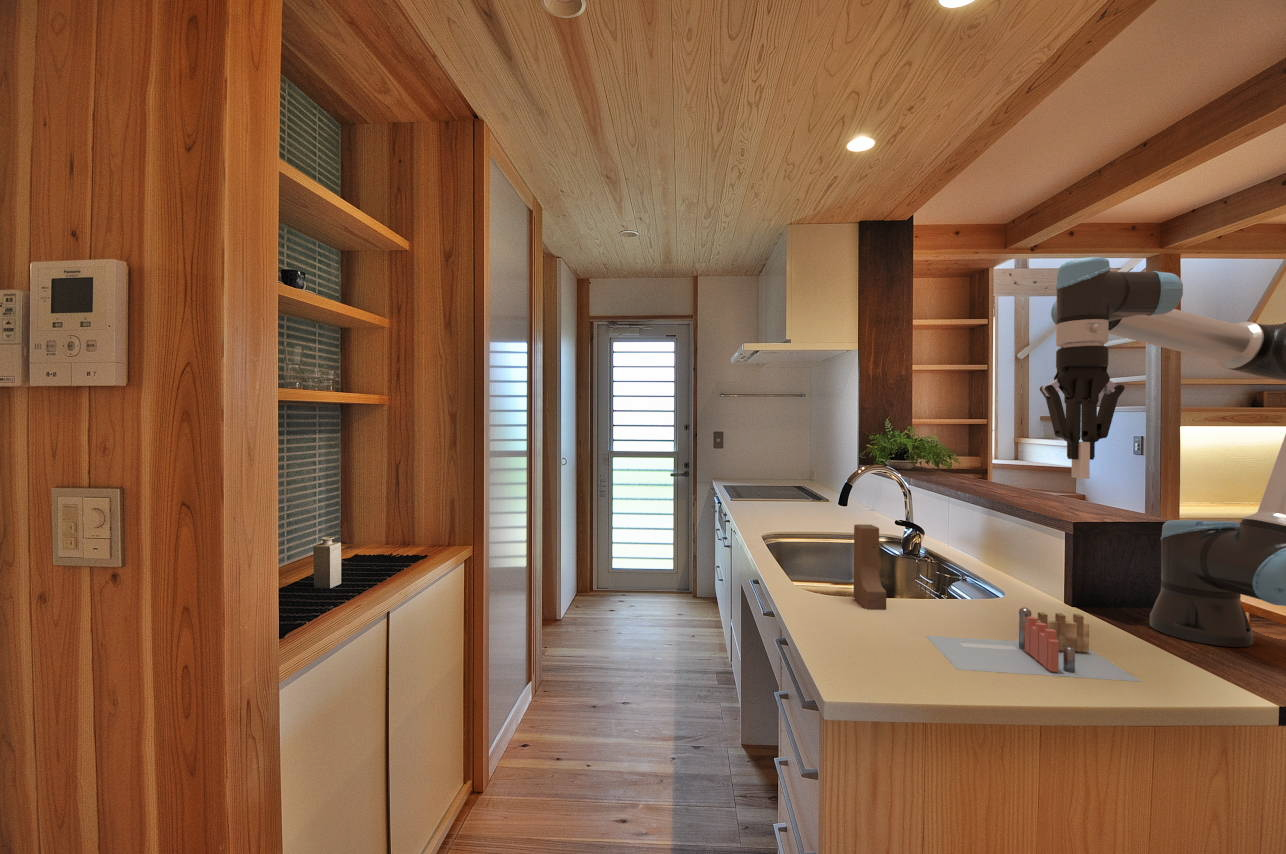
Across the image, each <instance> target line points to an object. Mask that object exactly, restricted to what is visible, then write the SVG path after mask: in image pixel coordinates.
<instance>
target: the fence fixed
mask: <svg viewBox="0 0 1286 854" xmlns="http://www.w3.org/2000/svg"><path fill="white" fill-rule="evenodd" d="M1054 613H1055V614H1054V615H1055V617H1054V620H1050V619H1049V620H1048V618H1049V615H1048V614H1047V613H1045V612H1044V611H1043V612H1041V611H1039V612H1037V618H1038V623H1045V624H1046V625H1047V629H1054V630H1055V631H1057V636H1056V640H1057V641H1058V642H1059V651H1064V646H1065V645H1067V646H1072V647H1075V651H1077V652H1089V649H1090V623H1087V622H1085V621H1084V619H1085V617H1084V616H1083V615H1082V614H1080V613H1078V614H1077V613H1073V615H1072V621H1066V619H1067V618H1066V617H1067V616H1066V615H1065V614H1063V613H1061V612H1054Z"/></svg>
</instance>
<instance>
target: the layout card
mask: <svg viewBox="0 0 1286 854" xmlns="http://www.w3.org/2000/svg"><path fill="white" fill-rule="evenodd" d="M925 637H926V638H927V639H928V641H930V642H931V643H932V644H933V645H934V646H935V647H936V648H937V650H939V652H940V653H941V654H942V655H943V656H944V657H945V658H946V659H947V660H948V661H949V662H950V663H951V664H952V666H954V667H955V669H956V670H958V671H959V670H960V671H972V672H973V671H974V672H987V673H988V672H989V673H1004V674H1019V675H1032V676H1033V675H1035V676H1049V677H1061V678H1062V677H1064V678H1079V679H1093V680H1111V681H1126V682H1136V683H1137V682H1138V683H1139V682H1140V683H1141V682H1142V683H1143V681H1142V680H1141V679H1139V678H1137V677H1136V676H1134V675H1133V674H1131V673H1129V672H1128V671H1126V670H1124V669H1123V668H1121V667H1120V666H1118V665H1116V664H1115V663H1113V662H1112V661H1111V660H1108V659H1107V658H1106V657H1103V656H1102V655H1100V654H1099V653H1097V652H1095V651H1093V650H1092V649H1090V648H1089V652H1077V651H1075V673H1069V672H1066V671H1064V670H1063V654H1064V651H1059V672H1053V671H1050V670H1048V669H1047V668H1045V667H1044V665H1042V664H1041V663H1040V662H1039V661H1037V660H1036V659H1035V658H1034V657H1033V656H1032V655H1030V654H1029V653H1027V651H1025V650H1022V649H1020V648H1019V640H1003V639H990V638H989V639H987V638H973V637H972V638H969V637H954V636H953V637H951V636H938V635H926V636H925Z"/></svg>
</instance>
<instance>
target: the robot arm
mask: <svg viewBox="0 0 1286 854" xmlns="http://www.w3.org/2000/svg"><path fill="white" fill-rule="evenodd" d="M1111 268H1112V267H1110V261H1109V259H1108V258H1106V257H1102V256H1089V257H1081V258H1076V259H1073V260H1069V261H1066V262H1064V263H1063V264H1061V265H1060V266H1059V268H1058V270H1057V277H1056V287H1055V290H1056V300H1055V301H1054V303H1053V304H1052V307H1051V310H1050V311H1051V312H1050V316H1051V319H1052V322H1053V323H1054V324H1055V325H1056V340H1055V346H1056V347H1058V349H1057V350H1056V351H1055V352H1056V353H1055V354H1056V355H1055V369H1056V373H1055V375H1054V377H1053V380H1052V381H1051V382H1049V383H1048V384H1046V385H1041V386H1040V388H1039V391H1040V392H1041V394H1042V395H1043V397H1044V398H1045V401H1046V405H1047V408H1048V409H1047V410H1048V413H1049V417H1050V421H1051V425H1052V429H1053V434H1054V436H1055V437H1056V438H1060V439H1062V440H1063V441H1065V442H1066V457H1067V460H1071V478H1074V479H1079V480H1083V479H1086V480H1087V479H1088V480H1090V475H1091V474H1090V471H1091V469H1090V467H1091V466H1090V465H1091V464H1090V463H1091V461H1090V460H1093V461H1094V459H1095V455H1096V454H1095V453H1096V452H1095V451H1096V450H1095V449H1096V448H1095V447H1096V446H1095V445H1096V443H1098V441H1100V440H1101V439H1106V438H1107V437H1108V436H1109V434H1110V433H1109V432H1110V428H1111V424H1112V422H1113V418H1114V414H1115V411H1116V407H1117V403H1118V401H1119V398H1120V396H1121V395H1123V394H1122V393H1123V392H1124V391H1125V389H1126V388H1125V386H1124V385H1123V384H1116V383H1115V382H1113V381H1111V377H1110V375H1109V372H1108V366H1109V348H1108V346H1105V345H1106V344H1108V343H1109V335H1112V336H1116V337H1119V338H1120V337H1121V338H1124V339H1129V340H1131V341H1137V342H1141V343H1144V344H1148V345H1153V346H1157V347H1160V348H1165V349H1169V350H1171V351H1177V352H1181V353H1185V354H1189V355H1193V356H1196V357H1200V358H1201V357H1202V358H1204V359H1209V360H1213V361H1214V363H1215V364H1216V365H1217V366H1218V367H1219V368H1220V367H1221V368H1224V369H1227V370H1232V371H1234V372H1239V373H1244V374H1248V375H1252V376H1256V377H1261V378H1265V379H1272V380H1277V381H1284V382H1286V323H1285V322H1284V323H1276V324H1275V323H1274V324H1262V323H1256V322H1252V321H1240V322H1236V323H1233V322H1229V321H1224V320H1220V319H1216V318H1213V317H1208V316H1205V315H1201V314H1196V313H1193V312H1188V311H1184V310H1180V309H1176V308H1177V307H1178V305H1179V304H1180V302H1181V301H1182V299H1183V295H1184V283H1183V281H1182V279H1181V278H1180V277H1179V276H1178V275H1177V274H1175V273H1172V272H1164V271H1157V270H1153V271H1113V270H1111ZM1060 392H1061V393H1062V394H1063V395H1064V400H1063V401H1064V404H1065V410H1064V406H1063V402H1062V398H1061V395H1060ZM1101 392H1102V393H1104V394H1103V395H1102V397H1101V401H1100V404H1099V408H1098V403H1099V400H1100V393H1101ZM1160 570H1161V571H1160V578H1161V579H1160V580H1161V581H1160V590H1159V591H1160V592H1159V594H1158V597H1157V598H1156V600H1155V602H1154V605H1153V608H1152V610H1151V611H1150V613H1149V626H1150V627H1151V628H1152V629H1153V630H1155V631H1157V632H1159V633H1163V634H1165V635H1166V636H1167V635H1168V636H1171V637H1173V638H1174V637H1175V638H1178V639H1181V640H1186V641H1189V642H1195V643H1199V644H1205V645H1211V646H1217V647H1218V646H1220V647H1226V648H1227V647H1229V648H1230V647H1231V648H1244V647H1251V646H1252V645H1253V644H1254V631H1253V629H1252V627H1251V624H1250V622H1249V619H1248V617H1247V614H1246V612H1245V609H1244V606H1243V605H1242V599H1241V598H1242V597H1241V595H1242V596H1246V597H1250V598H1253V599H1257V600H1260V601H1263V602H1265V603H1268V604H1271V605H1274V606H1284V607H1286V433H1285V434H1284V436H1283V441H1282V443H1281V446H1280V448H1279V451H1278V454H1277V457H1276V459H1275V463H1274V466H1273V468H1272V471H1271V474H1270V477H1269V479H1268V482H1267V484H1266V488H1265V490H1264V493H1263V496H1262V498H1261V501H1260V504H1259V507H1258V509H1257V511H1256V512H1254V513H1252V514H1250V515H1248V516H1244V517H1242V519H1241V522H1239V521H1233V520H1206V519H1205V520H1201V519H1198V520H1197V519H1196V520H1193V519H1169V520H1167V521H1165V522H1164V523H1163V524H1162V528H1161V536H1160Z"/></svg>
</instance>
